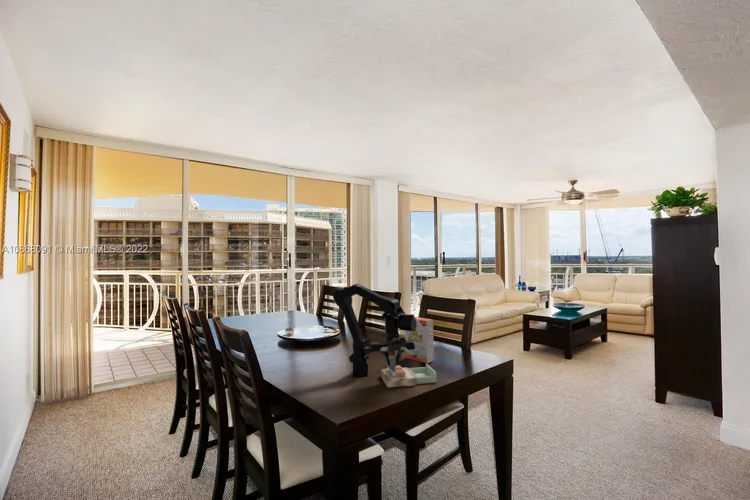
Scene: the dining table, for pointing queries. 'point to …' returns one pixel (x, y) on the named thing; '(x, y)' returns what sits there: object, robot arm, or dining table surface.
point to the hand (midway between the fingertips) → (392, 366)
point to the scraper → (392, 365)
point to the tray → (424, 374)
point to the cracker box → (421, 341)
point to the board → (398, 378)
